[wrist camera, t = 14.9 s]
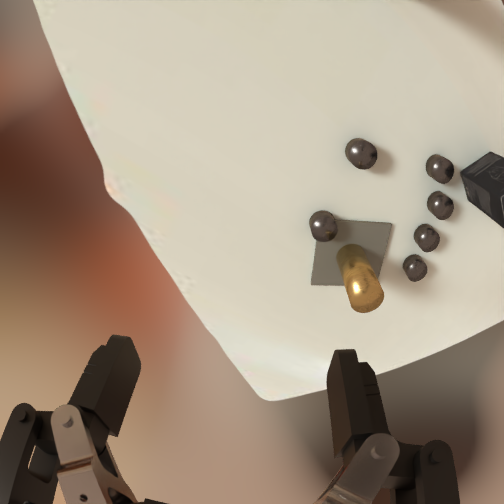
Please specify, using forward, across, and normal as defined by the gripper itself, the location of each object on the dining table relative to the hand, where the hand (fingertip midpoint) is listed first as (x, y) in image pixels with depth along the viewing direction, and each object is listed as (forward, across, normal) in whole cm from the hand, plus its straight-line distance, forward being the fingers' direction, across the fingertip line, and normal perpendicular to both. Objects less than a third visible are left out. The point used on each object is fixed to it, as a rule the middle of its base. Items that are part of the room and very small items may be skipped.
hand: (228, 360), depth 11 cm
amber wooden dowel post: (+30, -14, +13) cm, 35 cm away
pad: (+30, -14, +13) cm, 36 cm away
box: (+30, -35, -2) cm, 46 cm away
